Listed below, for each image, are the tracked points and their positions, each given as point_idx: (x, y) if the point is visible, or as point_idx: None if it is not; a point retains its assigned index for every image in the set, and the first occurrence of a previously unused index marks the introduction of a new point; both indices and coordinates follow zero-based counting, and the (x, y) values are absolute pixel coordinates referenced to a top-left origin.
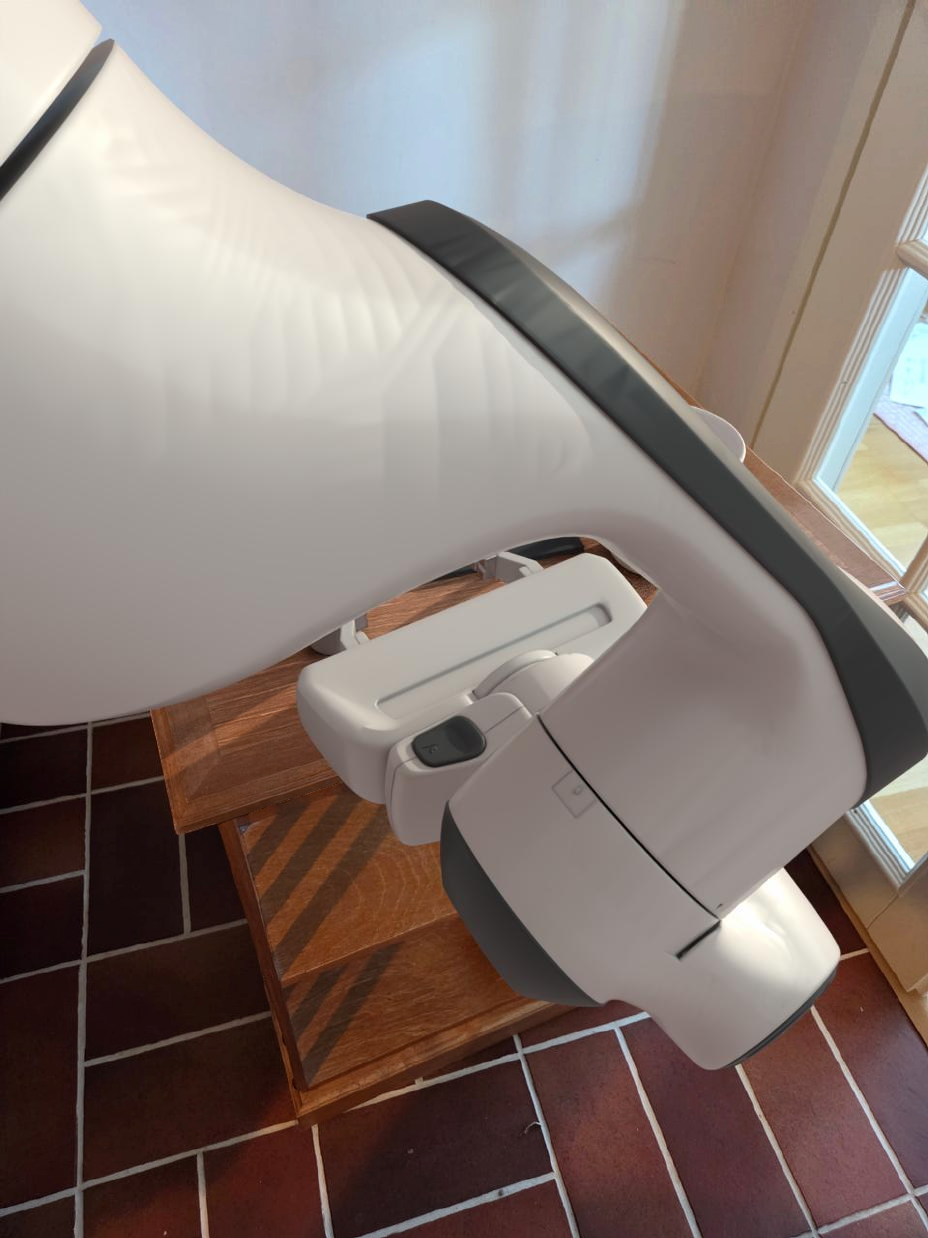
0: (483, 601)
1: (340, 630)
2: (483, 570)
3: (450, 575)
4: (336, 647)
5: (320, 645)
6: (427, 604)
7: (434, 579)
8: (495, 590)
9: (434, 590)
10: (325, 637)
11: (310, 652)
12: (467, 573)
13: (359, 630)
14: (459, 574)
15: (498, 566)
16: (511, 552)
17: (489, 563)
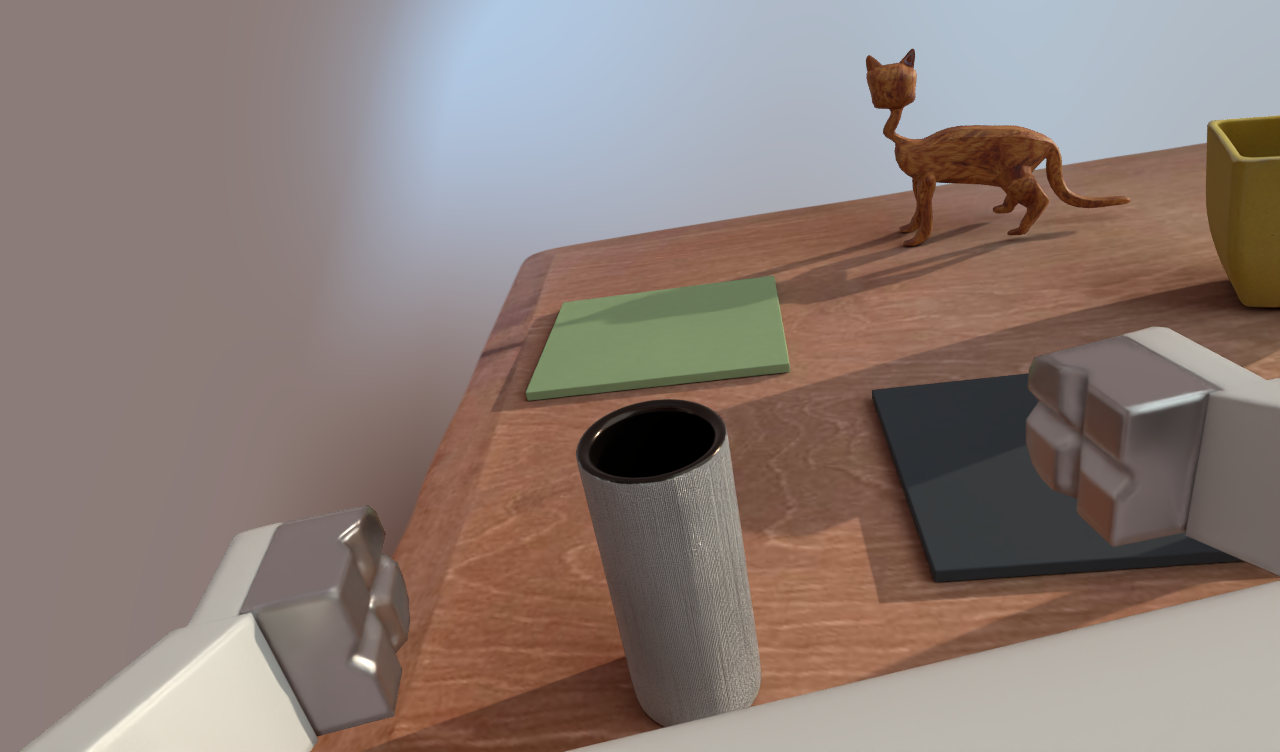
0: (1143, 695)
1: (686, 671)
2: (1115, 484)
3: (1006, 572)
4: (682, 713)
5: (647, 700)
6: (940, 636)
7: (964, 577)
8: (1268, 597)
9: (962, 604)
10: (653, 682)
11: (632, 712)
12: (1052, 573)
13: (341, 728)
14: (1031, 573)
15: (1219, 465)
16: (1176, 534)
17: (1156, 441)
